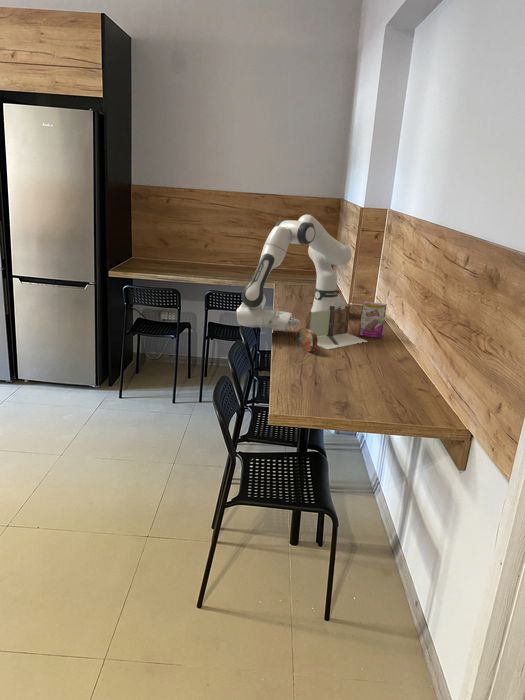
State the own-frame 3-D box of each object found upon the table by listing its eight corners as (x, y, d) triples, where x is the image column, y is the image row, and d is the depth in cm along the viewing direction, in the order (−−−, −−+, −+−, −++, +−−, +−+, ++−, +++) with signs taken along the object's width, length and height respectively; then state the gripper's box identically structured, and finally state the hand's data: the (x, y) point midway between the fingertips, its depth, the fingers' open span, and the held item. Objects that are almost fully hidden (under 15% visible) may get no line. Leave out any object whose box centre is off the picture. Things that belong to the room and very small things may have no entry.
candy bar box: (358, 336, 256) (362, 302, 251) (359, 333, 261) (363, 300, 256) (381, 339, 254) (386, 305, 249) (382, 336, 258) (387, 303, 253)
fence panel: (325, 333, 253) (328, 308, 249) (328, 335, 251) (331, 309, 247) (303, 337, 244) (306, 311, 241) (306, 338, 243) (308, 312, 239)
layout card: (337, 330, 263) (337, 329, 263) (367, 341, 248) (367, 340, 248) (297, 337, 248) (297, 336, 248) (327, 349, 233) (327, 348, 233)
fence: (344, 331, 261) (347, 303, 256) (348, 332, 259) (351, 304, 254) (325, 334, 253) (328, 306, 249) (329, 336, 251) (332, 307, 247)
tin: (296, 343, 239) (298, 325, 236) (302, 343, 240) (304, 325, 237) (311, 354, 225) (312, 335, 223) (317, 354, 227) (319, 335, 224)
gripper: (267, 318, 238) (298, 321, 236) (273, 308, 257) (301, 311, 255) (266, 332, 240) (297, 335, 238) (272, 320, 259) (300, 323, 257)
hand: (299, 322), depth 247 cm, fingers closed
